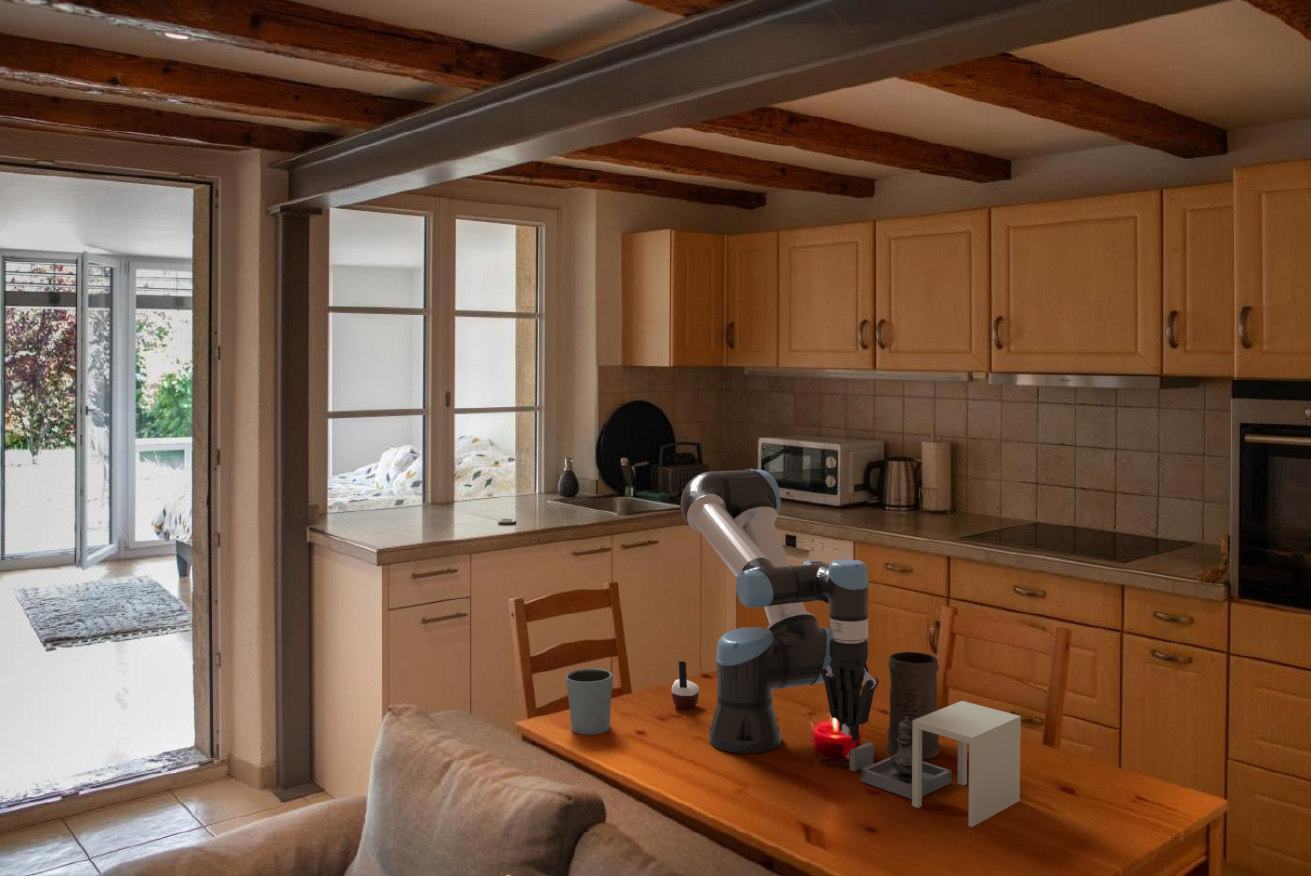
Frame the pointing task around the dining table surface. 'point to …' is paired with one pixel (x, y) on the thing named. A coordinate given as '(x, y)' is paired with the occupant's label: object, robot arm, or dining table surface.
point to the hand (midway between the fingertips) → (849, 755)
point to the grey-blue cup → (589, 700)
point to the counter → (975, 755)
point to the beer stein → (912, 697)
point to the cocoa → (684, 690)
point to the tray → (884, 770)
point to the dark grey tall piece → (904, 753)
